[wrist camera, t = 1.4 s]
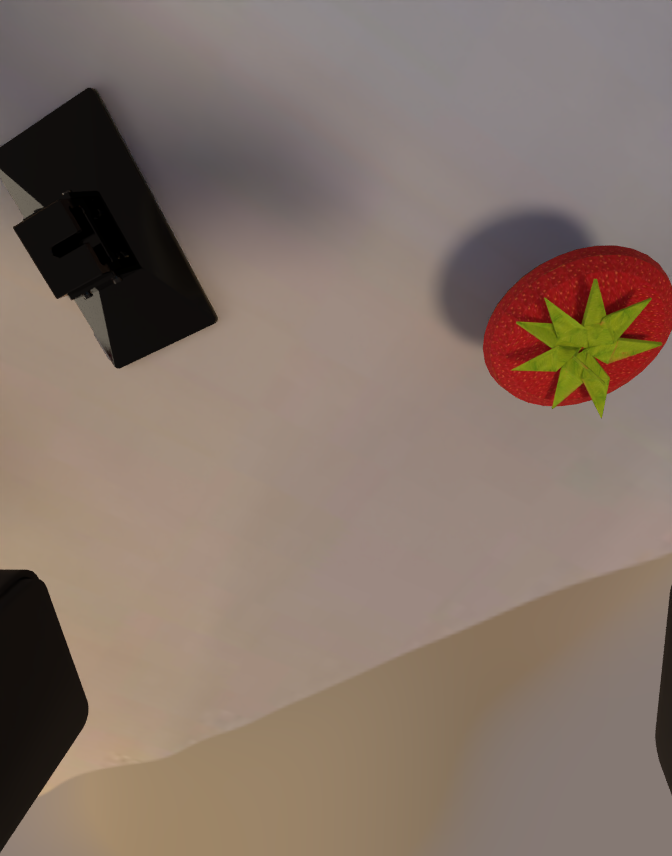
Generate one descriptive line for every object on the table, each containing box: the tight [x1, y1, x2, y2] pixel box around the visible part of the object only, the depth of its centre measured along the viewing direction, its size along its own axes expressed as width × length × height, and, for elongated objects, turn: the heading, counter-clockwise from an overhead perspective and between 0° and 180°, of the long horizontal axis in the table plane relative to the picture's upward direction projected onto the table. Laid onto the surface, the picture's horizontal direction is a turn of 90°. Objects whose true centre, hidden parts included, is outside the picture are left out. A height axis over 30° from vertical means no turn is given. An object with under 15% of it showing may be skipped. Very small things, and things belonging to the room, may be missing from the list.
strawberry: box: [483, 246, 672, 419], centre depth 24 cm, size 6×8×10 cm
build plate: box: [0, 88, 218, 368], centre depth 29 cm, size 12×7×5 cm, turn 25°
